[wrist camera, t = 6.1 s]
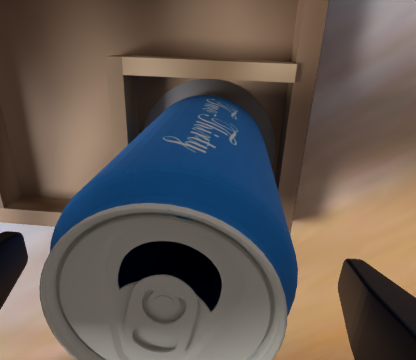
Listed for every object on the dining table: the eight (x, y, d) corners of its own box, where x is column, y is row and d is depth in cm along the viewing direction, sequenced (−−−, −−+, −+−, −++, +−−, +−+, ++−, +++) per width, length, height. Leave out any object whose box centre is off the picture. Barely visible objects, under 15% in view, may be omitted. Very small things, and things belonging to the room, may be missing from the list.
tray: (17, 202, 22) (-12, 224, 19) (-40, -42, 16) (-92, -58, 13) (282, 222, 20) (289, 247, 18) (321, -34, 15) (338, -49, 12)
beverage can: (280, 110, 17) (361, 237, 6) (245, 212, 19) (256, 431, 8) (162, 78, 17) (18, 148, 6) (143, 185, 19) (20, 374, 8)
